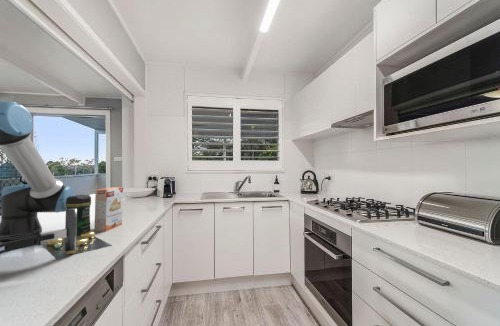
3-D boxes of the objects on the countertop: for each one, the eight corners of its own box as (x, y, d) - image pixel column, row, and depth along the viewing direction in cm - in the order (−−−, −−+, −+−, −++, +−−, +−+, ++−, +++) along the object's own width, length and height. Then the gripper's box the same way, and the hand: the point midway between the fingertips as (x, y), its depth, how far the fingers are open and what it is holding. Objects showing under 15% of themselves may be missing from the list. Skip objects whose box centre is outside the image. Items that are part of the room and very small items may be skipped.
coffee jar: (78, 238, 101) (79, 196, 102) (60, 238, 102) (61, 196, 102) (94, 232, 111) (94, 193, 111) (78, 232, 111) (78, 193, 112)
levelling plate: (41, 247, 90) (41, 239, 90) (92, 237, 104) (92, 230, 104) (56, 261, 77) (56, 252, 77) (112, 248, 90) (112, 240, 90)
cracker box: (106, 233, 109) (107, 189, 110) (93, 233, 109) (94, 189, 110) (123, 226, 123) (123, 186, 124) (111, 226, 123) (112, 186, 124)
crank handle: (68, 242, 93) (69, 203, 93) (89, 240, 96) (90, 202, 96) (56, 257, 77) (57, 210, 78) (82, 253, 81) (82, 209, 81)
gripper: (-47, 260, 64) (60, 240, 83) (-49, 274, 56) (70, 248, 74) (-46, 233, 65) (61, 219, 83) (-48, 243, 56) (71, 225, 74)
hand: (65, 233), depth 78 cm, fingers closed
